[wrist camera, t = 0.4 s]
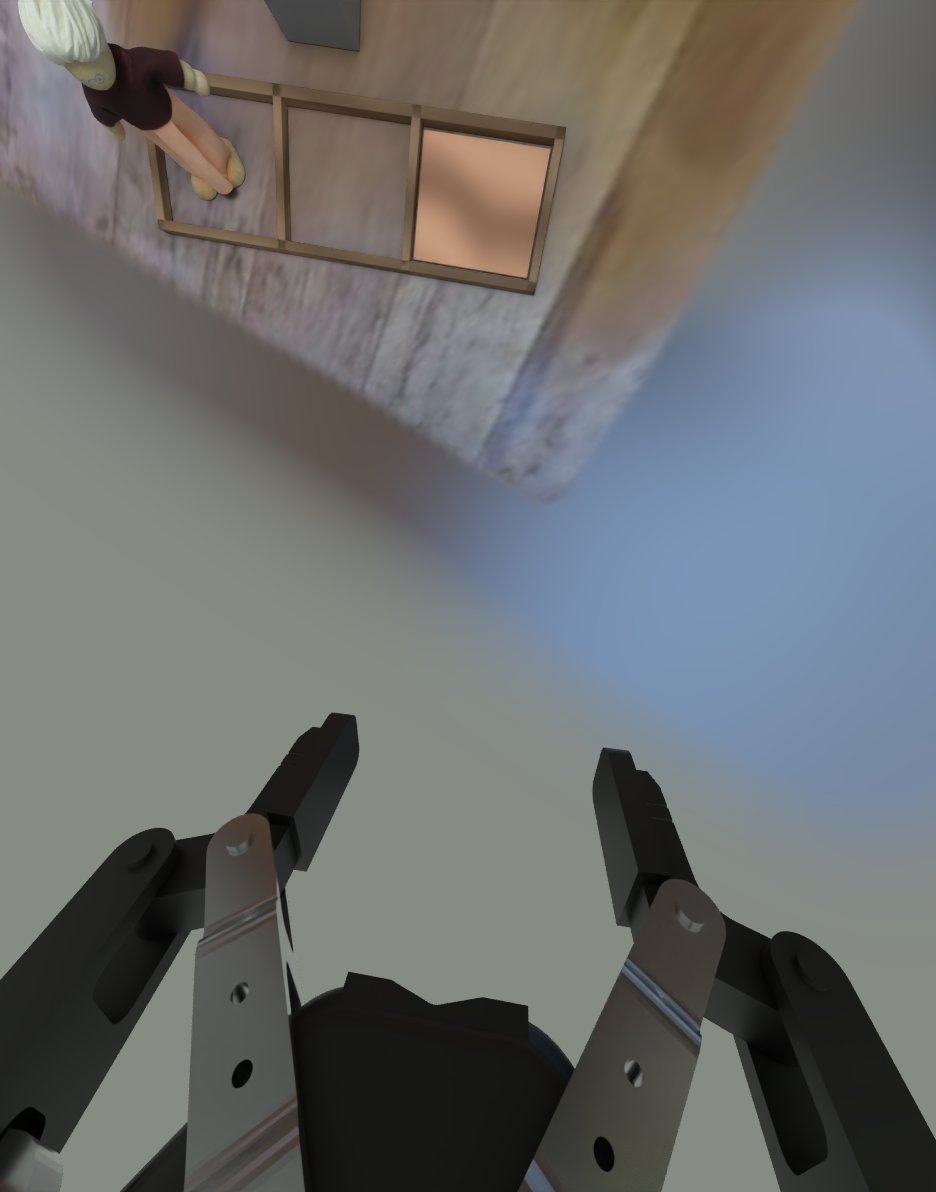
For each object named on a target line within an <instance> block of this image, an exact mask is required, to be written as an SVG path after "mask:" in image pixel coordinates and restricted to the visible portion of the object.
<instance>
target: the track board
mask: <svg viewBox="0 0 936 1192" xmlns="http://www.w3.org/2000/svg"><path fill="white" fill-rule="evenodd" d="M203 74H204V75H205V77H206V78H207V80H208V82H209V85H210V94H215V95H222V96H228V97H235V98H241V99H248V100H254V101H261V102H267V103H273V118H274V145H275V172H276V199H277V226H278V239H275V238H269V237H263V236H257V235H251V234H245V233H239V232H233V231H227V230H221V229H215V228H209V227H203V226H197V225H191V224H185V223H179V222H173V221H172V213H171V205H170V197H169V189H168V181H167V173H166V165H165V157H164V151H163V150H162V149H161V148H160V147H159V146H158V145H156V144H155V143H154V142H152V141H151V140H150V139H149V138H147V137H146V139H147V146H148V153H149V160H150V167H151V175H152V182H153V189H154V196H155V204H156V211H157V218H158V225H159V229H161V230H162V231H164V232H166V233H169V234H175V235H181V236H187V237H193V238H199V239H205V240H210V241H216V242H222V243H228V244H234V245H240V246H246V247H252V248H258V249H264V250H270V251H276V252H281V253H287V254H293V255H299V256H305V257H311V258H317V259H323V260H329V261H335V262H341V263H347V264H353V265H358V266H364V267H370V268H376V269H382V270H388V271H394V272H400V273H406V274H412V275H418V276H424V277H429V278H435V279H441V280H447V281H453V282H459V283H465V284H471V285H477V286H483V287H489V288H495V289H500V290H506V291H512V292H518V293H524V294H530V295H534V293H535V288H536V282H537V277H538V272H539V267H540V262H541V257H542V251H543V246H544V241H545V236H546V231H547V225H548V220H549V215H550V210H551V205H552V200H553V194H554V189H555V184H556V179H557V174H558V168H559V163H560V158H561V153H562V148H563V143H564V137H565V132H566V127H561V126H554V125H547V124H541V123H534V122H527V121H521V120H514V119H507V118H501V117H494V116H488V115H481V114H474V113H468V112H461V111H454V110H448V109H441V108H434V107H428V106H421V105H415V104H408V103H401V102H395V101H388V100H381V99H375V98H368V97H361V96H355V95H348V94H342V93H335V92H328V91H322V90H315V89H308V88H302V87H295V86H289V85H282V84H275V83H269V82H262V81H255V80H249V79H242V78H235V77H229V76H222V75H216V74H209V73H203ZM165 86H166V87H169V88H176V89H182V90H188V89H186V88H178V87H172V86H168V85H166V84H165ZM189 91H194V90H189ZM287 106H294V107H300V108H307V109H313V110H320V111H326V112H333V113H339V114H346V115H352V116H359V117H365V118H372V119H379V120H385V121H392V122H398V123H405V124H411V134H410V148H409V162H408V176H407V191H406V205H405V219H404V233H403V247H402V260H400V259H394V258H388V257H382V256H376V255H370V254H364V253H358V252H352V251H346V250H340V249H334V248H328V247H323V246H317V245H311V244H305V243H299V242H293V241H291V232H290V194H289V156H288V117H287ZM423 126H424V127H431V128H437V129H444V130H450V131H457V132H464V133H470V134H477V135H483V136H490V137H496V138H503V139H509V140H516V141H522V142H529V143H536V144H542V145H549V146H554V147H553V152H552V158H551V163H550V168H549V174H548V179H547V184H546V190H545V195H544V201H543V206H542V211H541V217H540V222H539V228H538V233H537V238H536V244H535V249H534V255H533V260H532V265H531V271H530V276H529V281H525V280H519V279H513V278H508V277H502V276H496V275H490V274H484V273H478V272H472V271H466V270H460V269H454V268H448V267H442V266H436V265H430V264H424V263H418V262H412V255H413V243H414V230H415V218H416V205H417V193H418V180H419V168H420V155H421V143H422V130H423ZM549 155H550V149H547V148H540V147H534V146H527V145H521V144H514V143H508V142H501V141H495V140H488V139H482V138H475V137H469V136H462V135H456V134H449V133H443V132H436V131H430V130H424V138H423V150H422V162H421V175H420V187H419V199H418V212H417V224H416V236H415V248H414V260H415V261H420V262H426V263H432V264H438V265H444V266H450V267H456V268H462V269H468V270H474V271H480V272H486V273H492V274H498V275H504V276H510V277H516V278H522V279H527V275H528V269H529V264H530V259H531V253H532V248H533V242H534V237H535V231H536V226H537V220H538V215H539V210H540V204H541V199H542V193H543V188H544V182H545V177H546V171H547V166H548V161H549Z"/></svg>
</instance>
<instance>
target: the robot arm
mask: <svg viewBox="0 0 936 1192" xmlns="http://www.w3.org/2000/svg"><path fill="white" fill-rule="evenodd" d="M358 757H359V742H358V732H357V724H356V717H355V716H354V715H349V714H341V713H331V714H330V715H329V716H328V717H327V719H326V720H325V722H324V723H323V725H322V727H321V728H318V727H312V728H310V729H309V730H308V731H307V732H305V733H304V734H303V735H301V736H300V737H299V738H298V739H297V741H296V742H295V743H294V745H293V746H292V748H291V749H290V751H289V754H288V755H286V756H285V758H284V759H283V761H282V762H281V765H280V766H279V767H278V768H277V769H276V771H275V772H274V774H273V775H272V777H271V778H270V780H269V781H268V782H267V784H266V785H265V787H264V788H263V790H262V791H261V793H260V794H259V795H258V797H257V798H256V800H255V801H254V803H253V804H252V806H251V807H250V808H249V810H248V811H247V812H246V813H245V814H244V815H241V816H238V817H236V818H234V819H232V820H230V821H229V822H227V823H226V824H224V825H223V826H222V827H221V828H220V829H219V830H218V831H217V832H216V833H213V834H209V835H203V836H197V837H192V838H186V839H180V840H175V838H174V836H173V834H172V832H171V831H169V830H167V829H165V828H153V829H149V830H145V831H143V832H140V833H138V834H136V835H134V836H132V837H131V838H129V839H127V840H126V841H125V842H123V843H122V844H121V845H120V846H118V847H117V848H116V849H115V850H114V851H113V852H112V853H111V854H110V856H109V857H108V858H107V859H106V860H105V861H104V862H103V863H102V865H101V866H100V867H99V868H98V869H97V870H96V872H95V873H94V874H93V875H92V876H91V877H90V878H89V880H88V881H87V882H86V883H85V884H84V885H83V886H82V888H81V889H80V890H79V891H78V892H77V893H76V894H75V895H74V897H73V898H72V899H71V900H70V901H69V902H68V903H67V905H66V906H65V907H64V908H63V909H62V910H61V911H60V913H59V914H58V915H57V916H56V917H55V918H54V919H53V921H52V922H51V923H50V924H49V925H48V926H47V928H46V929H45V930H44V931H43V932H42V933H41V934H40V935H39V937H38V938H37V939H36V940H35V941H34V942H33V943H32V945H31V946H30V947H29V948H28V949H27V950H26V952H25V953H24V954H23V955H22V956H21V957H20V958H19V959H18V960H17V962H16V963H15V964H14V965H13V966H12V967H11V969H10V970H9V971H8V972H7V973H6V974H5V975H4V976H3V978H2V979H1V980H0V1192H59V1191H60V1188H61V1183H62V1176H63V1166H62V1161H61V1158H60V1156H59V1154H60V1152H61V1150H62V1149H63V1147H64V1145H65V1143H66V1142H67V1140H68V1138H69V1137H70V1135H71V1133H72V1132H73V1130H74V1128H75V1127H76V1125H77V1123H78V1121H79V1120H80V1118H81V1116H82V1115H83V1113H84V1111H85V1110H86V1108H87V1106H88V1104H89V1103H90V1101H91V1100H92V1098H93V1096H94V1094H95V1093H96V1091H97V1089H98V1088H99V1086H100V1084H101V1082H102V1081H103V1079H104V1077H105V1076H106V1074H107V1072H108V1071H109V1069H110V1067H111V1066H112V1064H113V1062H114V1060H115V1059H116V1057H117V1055H118V1054H119V1052H120V1050H121V1049H122V1047H123V1045H124V1044H125V1042H126V1040H127V1038H128V1037H129V1035H130V1033H131V1032H132V1030H133V1028H134V1026H135V1025H136V1023H137V1021H138V1020H139V1018H140V1016H141V1015H142V1013H143V1011H144V1010H145V1008H146V1006H147V1004H148V1003H149V1001H150V999H151V998H152V996H153V994H154V993H155V991H156V989H157V987H158V986H159V984H160V982H161V981H162V979H163V977H164V976H165V974H166V972H167V971H168V969H169V967H170V966H171V964H172V962H173V960H174V959H175V957H176V955H177V954H178V952H179V950H180V949H181V947H182V945H183V943H184V942H185V940H186V938H187V937H188V935H189V933H190V932H191V930H195V929H199V928H204V935H203V939H201V940H199V942H198V944H197V947H196V954H195V970H194V992H193V1016H192V1037H191V1059H190V1080H189V1102H188V1122H187V1123H186V1124H185V1125H184V1126H183V1127H182V1128H181V1129H180V1130H179V1131H178V1132H177V1133H176V1134H175V1135H174V1136H173V1137H172V1138H171V1139H170V1140H169V1142H168V1143H166V1145H164V1147H163V1148H162V1149H161V1150H160V1151H159V1152H158V1153H157V1154H156V1155H155V1156H154V1157H153V1158H152V1159H151V1160H150V1161H149V1162H148V1163H147V1164H146V1165H145V1166H144V1167H143V1168H142V1169H141V1170H140V1171H139V1173H138V1174H136V1175H135V1177H134V1178H133V1179H132V1180H131V1181H130V1182H129V1183H128V1184H127V1185H126V1186H125V1187H124V1188H123V1189H122V1190H121V1191H120V1192H661V1190H662V1187H663V1184H664V1180H665V1176H666V1173H667V1169H668V1165H669V1162H670V1158H671V1155H672V1151H673V1147H674V1144H675V1140H676V1136H677V1132H678V1129H679V1126H680V1122H681V1118H682V1114H683V1111H684V1107H685V1104H686V1100H687V1097H688V1093H689V1089H690V1086H691V1082H692V1078H693V1074H694V1071H695V1067H696V1064H697V1060H698V1056H699V1053H700V1048H701V1042H702V1036H701V1034H700V1027H701V1023H702V1020H703V1017H704V1018H706V1019H708V1020H710V1021H711V1022H713V1023H715V1024H716V1025H718V1026H720V1027H721V1028H723V1029H725V1030H727V1031H728V1032H730V1033H732V1034H733V1036H734V1039H735V1043H736V1046H737V1049H738V1053H739V1056H740V1059H741V1062H742V1066H743V1069H744V1072H745V1075H746V1079H747V1082H748V1085H749V1088H750V1092H751V1095H752V1099H753V1102H754V1105H755V1108H756V1112H757V1115H758V1118H759V1121H760V1125H761V1128H762V1131H763V1134H764V1138H765V1141H766V1145H767V1148H768V1151H769V1155H770V1158H771V1161H772V1164H773V1168H774V1171H775V1174H776V1177H777V1180H778V1184H779V1187H780V1191H781V1192H936V1140H935V1138H934V1136H933V1134H932V1132H931V1130H930V1129H929V1127H928V1125H927V1123H926V1121H925V1119H924V1117H923V1116H922V1114H921V1112H920V1110H919V1108H918V1106H917V1104H916V1103H915V1101H914V1099H913V1097H912V1095H911V1093H910V1092H909V1090H908V1088H907V1086H906V1084H905V1082H904V1080H903V1079H902V1077H901V1075H900V1073H899V1071H898V1069H897V1067H896V1066H895V1064H894V1062H893V1060H892V1058H891V1056H890V1055H889V1053H888V1051H887V1049H886V1047H885V1045H884V1043H883V1042H882V1040H881V1038H880V1036H879V1034H878V1032H877V1031H876V1029H875V1027H874V1025H873V1023H872V1021H871V1019H870V1018H869V1016H868V1014H867V1012H866V1010H865V1008H864V1006H863V1005H862V1003H861V1001H860V999H859V997H858V995H857V994H856V992H855V990H854V988H853V986H852V984H851V982H850V981H849V979H848V977H847V976H846V974H845V973H844V972H843V970H842V969H841V967H840V966H839V965H838V964H837V962H836V961H835V960H834V959H833V958H832V957H831V956H830V955H829V954H828V953H827V952H826V951H825V950H823V949H822V948H821V947H820V946H818V945H817V944H816V943H814V942H813V941H811V940H810V939H808V938H806V937H804V936H802V935H800V934H797V933H794V932H788V931H783V932H779V933H777V934H776V935H774V936H773V938H772V939H770V938H768V937H766V936H764V935H762V934H760V933H758V932H756V931H754V930H752V929H750V928H748V927H746V926H744V925H742V924H739V923H737V922H735V921H734V920H732V919H730V918H729V917H727V916H726V915H724V914H722V912H720V911H719V909H718V908H717V906H716V904H715V903H714V902H713V901H712V899H711V898H710V897H709V896H708V895H707V894H706V893H705V892H703V891H702V890H701V889H700V888H699V886H698V885H697V882H696V880H695V878H694V875H693V873H692V870H691V868H690V865H689V862H688V860H687V857H686V855H685V852H684V849H683V846H682V844H681V841H680V839H679V836H678V833H677V831H676V828H675V825H674V823H672V817H671V815H670V812H669V809H668V808H667V804H666V802H665V799H664V796H663V794H662V791H661V788H660V787H659V785H658V784H657V783H656V782H655V780H654V779H653V778H652V777H651V775H650V774H649V773H648V772H647V771H641V770H636V768H635V765H634V762H633V759H632V756H631V753H630V752H629V751H627V750H619V749H611V748H603V749H602V751H601V754H600V758H599V762H598V766H597V769H596V773H595V777H594V781H593V803H594V808H595V814H596V819H597V824H598V829H599V835H600V840H601V845H602V850H603V855H604V860H605V866H606V871H607V877H608V881H609V887H610V892H611V897H612V903H613V908H614V913H615V918H616V924H617V925H619V926H625V927H630V928H631V932H632V937H633V942H634V944H633V946H632V948H631V950H630V952H629V954H628V957H627V959H626V961H625V963H624V965H623V967H622V969H621V971H620V973H619V976H618V978H617V980H616V982H615V984H614V986H613V988H612V991H611V993H610V995H609V997H608V999H607V1002H606V1003H605V1006H604V1008H603V1010H602V1012H601V1014H600V1016H599V1018H598V1021H597V1023H596V1025H595V1027H594V1029H593V1031H592V1034H591V1036H590V1038H589V1040H588V1042H587V1044H586V1046H585V1049H584V1051H583V1053H582V1055H581V1057H580V1059H579V1062H578V1064H577V1066H576V1068H574V1067H573V1065H572V1064H571V1062H570V1061H569V1059H568V1058H567V1057H566V1055H565V1054H564V1053H563V1052H562V1050H561V1049H560V1048H559V1046H558V1045H557V1044H556V1043H555V1042H554V1041H552V1039H551V1038H550V1037H549V1036H548V1035H547V1034H545V1033H544V1032H543V1031H542V1030H540V1029H539V1028H538V1027H536V1026H535V1025H533V1024H531V1023H530V1022H528V1006H526V1005H521V1004H515V1003H510V1002H505V1001H500V1000H494V999H489V998H484V997H482V998H475V999H470V1000H464V1001H458V1002H453V1003H447V1004H441V1005H433V1004H430V1003H428V1002H427V1001H425V1000H423V999H422V998H420V997H419V996H417V995H415V994H414V993H412V992H410V991H409V990H407V989H405V988H404V987H402V986H400V985H399V984H397V983H395V982H394V981H392V980H389V979H384V978H379V977H373V976H368V975H363V974H358V973H352V972H348V975H347V978H346V981H345V984H344V987H340V988H336V989H333V990H330V991H327V992H325V993H323V994H321V995H319V996H317V997H315V998H313V999H312V1000H310V1001H309V1002H307V1003H306V1004H304V998H303V992H302V986H301V981H300V976H299V971H298V966H297V960H296V953H295V946H294V939H293V932H292V924H291V917H290V910H289V902H288V895H287V887H286V883H287V882H288V879H289V878H290V876H291V874H292V872H293V870H300V871H307V870H308V867H309V865H310V863H311V861H312V859H313V857H314V855H315V853H316V850H317V848H318V846H319V844H320V842H321V840H322V838H323V835H324V833H325V831H326V829H327V827H328V825H329V823H330V821H331V819H332V816H333V814H334V812H335V810H336V808H337V806H338V804H339V802H340V799H341V797H342V795H343V793H344V791H345V789H346V787H347V785H348V782H349V780H350V778H351V776H352V774H353V772H354V770H355V767H356V765H357V761H358Z"/></svg>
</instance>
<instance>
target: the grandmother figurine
mask: <svg viewBox="0 0 936 1192" xmlns="http://www.w3.org/2000/svg"><path fill="white" fill-rule="evenodd" d="M92 3H93V2H92V1H90V0H19V1H18V6H19V14H20V18H21V22H22V24H23V27H24V29H25V31H26V33H27V35H28V36H29V38H30V40H31V41H32V43H33V44H34V46H35V47H36V48H37V49H38V50H39V51H40V52H41V53H42V54H43V55H44V56H45V57H46V58H47V59H48V60H50V61H52V62H54V63H55V64H58V65H61V66H64V67H65V68H66V69H67V70H68V71H69V72H70V73H71V74H72V75H73V76H74V77H75V78H76V79H78V80H79V81H80V82H81V83H82V87H83V90H84V94H85V97H86V99H87V102H88V104H89V106H90V108H91V111H92V113H93V115H94V117H95V118H96V119H97V120H98V121H99V122H100V123H101V124H102V125H103V126H104V127H105V128H106V130H107V131H108V133H109V134H110V135H111V136H112V137H113V138H114V139H116V140H118V141H122V140H124V139H125V130H124V127H123V126H122V124H121V123H120V120H121V119H122V118H123V119H124V120H126V121H127V122H129V123H130V124H131V125H134V126H135V127H136V128H137V129H138V130H139V131H140V132H141V133H142V134H144V135H145V136H146V137H147V138H149V139H150V140H151V141H152V142H154V143H155V144H156V145H158V146H159V147H160V148H161V149H162V150H163V151H165V152H166V153H167V154H168V155H169V156H170V157H171V158H172V159H173V160H175V161H176V162H177V163H178V164H179V165H180V166H181V167H182V168H184V169H185V170H186V171H187V172H189V173H191V182H192V186H193V188H194V190H195V192H196V193H197V195H198V196H199V197H201V198H202V199H204V200H212V199H213V198H214V197H215V196H216V194H217V192H218V193H220V194H228V193H230V192H231V191H232V189H233V188H236V187H238V186H239V185H241V184H242V183H243V181H244V178H245V171H244V166H243V164H242V162H241V160H240V158H239V156H238V154H237V153H236V150H235V148H234V147H233V145H232V143H231V142H230V141H229V140H228V139H226V138H223V137H219V136H218V135H217V134H216V133H215V132H214V131H213V129H212V128H211V127H210V126H209V125H208V124H207V123H206V122H205V121H204V120H203V119H202V118H201V117H200V116H199V115H197V114H196V113H195V112H194V111H193V110H192V109H191V108H189V107H188V106H187V105H186V104H184V103H183V102H182V101H181V100H180V99H178V98H177V97H176V96H175V95H174V94H173V93H172V92H171V91H170V90H169V89H168V88H167V87H166V86H165V84H166V85H168V86H172V87H178V88H186V89H188V90H194V91H195V92H196V93H197V94H198V95H200V96H201V97H204V98H206V97H208V96H209V94H210V85H209V82H208V80H207V78H206V77H205V75H204V74H203V73H202V72H200V71H199V70H194V69H192V68H191V67H190V66H189V65H188V64H187V63H185V62H184V61H182V60H180V59H179V58H178V56H177V54H176V53H174V52H172V51H168V50H158V49H152V48H147V47H136V48H132V49H130V50H128V49H124V48H122V47H120V46H119V45H116V44H110V43H107V41H106V38H105V34H104V30H103V26H102V24H101V22H100V20H99V18H98V16H97V15H96V13H95V11H94V9H93V5H92Z"/></svg>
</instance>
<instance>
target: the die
mask: <svg viewBox="0 0 936 1192" xmlns="http://www.w3.org/2000/svg"><path fill="white" fill-rule="evenodd" d="M264 1H265V3H266V4H267V6H268V8H269V9H270V11H271V13H272V14H273V16H274V18H275V19H276V21H277V23H278V24H279V26H280V28H281V29H282V31H283V33H284V34H285V36H286V38H287V40H288V41H293V42H299V43H306V44H313V45H320V46H327V47H334V48H341V49H347V50H354V51H359V36H360V1H361V0H264Z"/></svg>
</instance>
